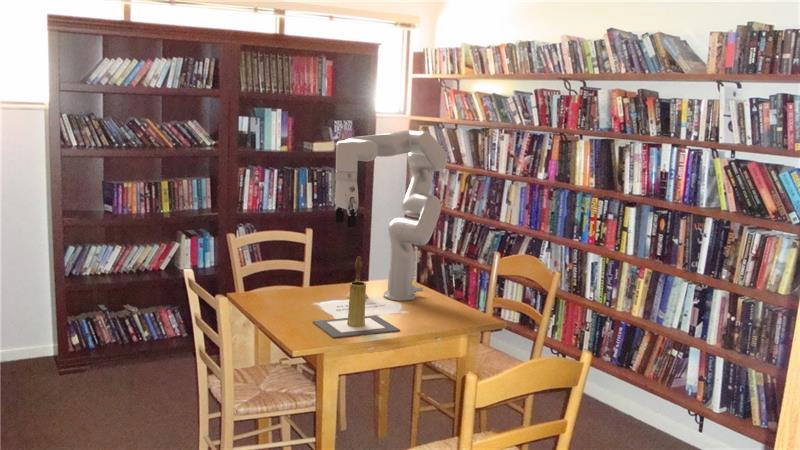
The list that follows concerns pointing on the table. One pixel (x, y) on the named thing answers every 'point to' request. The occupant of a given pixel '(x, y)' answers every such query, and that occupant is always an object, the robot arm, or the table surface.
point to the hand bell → (358, 272)
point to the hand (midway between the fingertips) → (345, 224)
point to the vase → (357, 304)
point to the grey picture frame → (341, 329)
